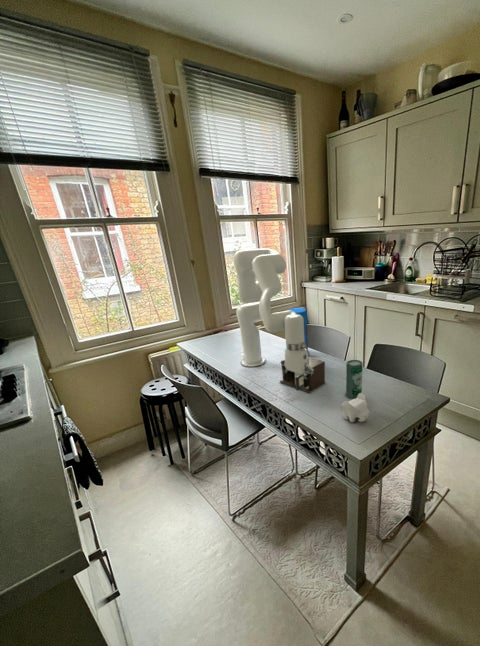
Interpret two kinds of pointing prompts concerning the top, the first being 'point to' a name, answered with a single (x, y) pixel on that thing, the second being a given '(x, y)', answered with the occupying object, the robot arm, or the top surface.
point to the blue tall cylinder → (304, 314)
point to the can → (353, 378)
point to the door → (299, 381)
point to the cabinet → (315, 379)
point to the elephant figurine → (356, 409)
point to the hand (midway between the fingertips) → (297, 383)
